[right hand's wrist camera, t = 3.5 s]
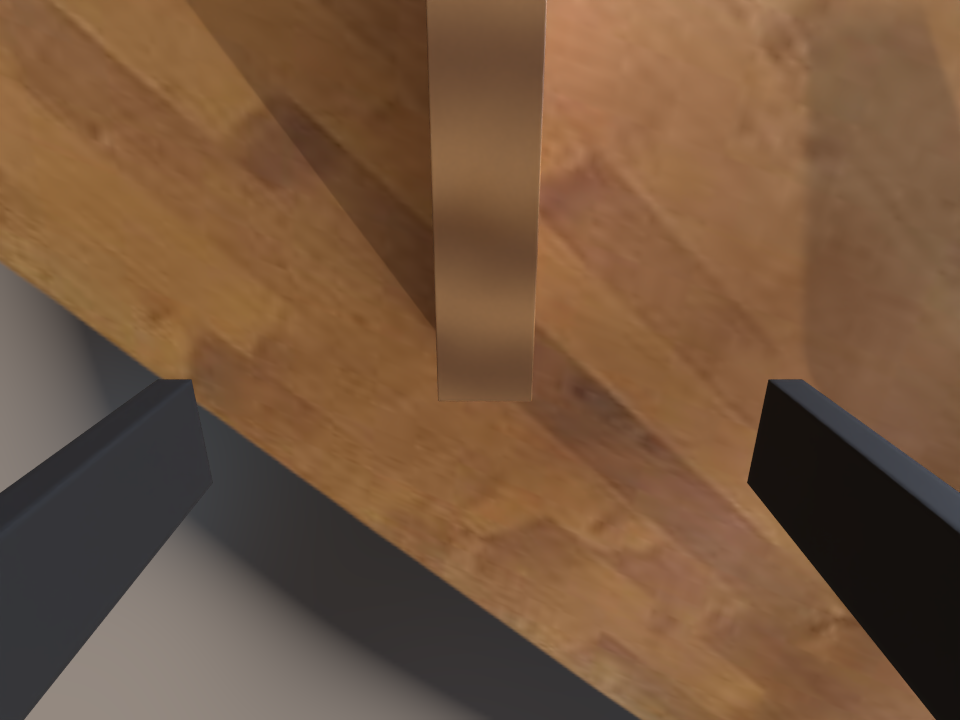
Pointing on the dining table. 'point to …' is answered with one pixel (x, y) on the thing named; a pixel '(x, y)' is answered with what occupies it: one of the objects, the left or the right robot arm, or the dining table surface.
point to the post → (485, 191)
